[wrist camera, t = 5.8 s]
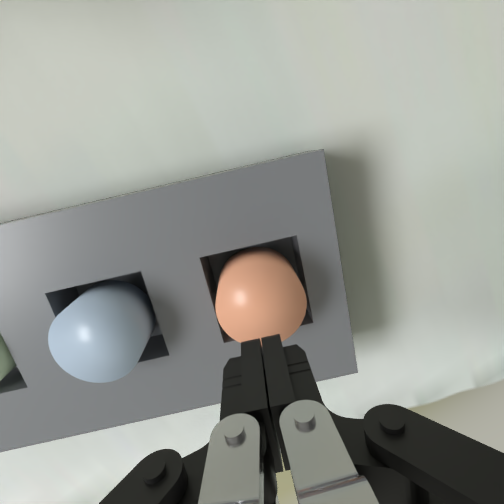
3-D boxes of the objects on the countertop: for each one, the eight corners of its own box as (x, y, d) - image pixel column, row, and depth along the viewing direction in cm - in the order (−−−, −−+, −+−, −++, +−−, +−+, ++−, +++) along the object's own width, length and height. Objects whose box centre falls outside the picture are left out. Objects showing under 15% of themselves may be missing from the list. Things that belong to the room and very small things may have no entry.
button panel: (307, 151, 21) (323, 149, 17) (338, 339, 24) (358, 372, 21) (-111, 249, 21) (-189, 269, 17) (-15, 418, 25) (-61, 465, 21)
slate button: (142, 272, 19) (124, 293, 16) (165, 340, 21) (153, 372, 18) (65, 290, 19) (33, 314, 16) (93, 357, 21) (68, 391, 18)
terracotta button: (287, 238, 19) (297, 253, 16) (302, 309, 20) (313, 336, 17) (209, 256, 19) (205, 274, 16) (228, 326, 21) (227, 355, 17)
